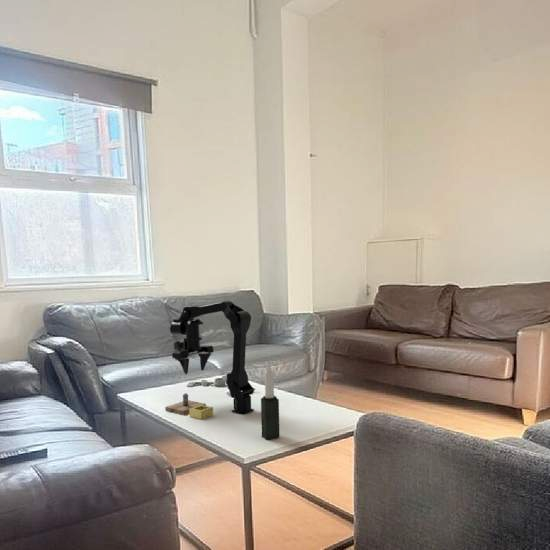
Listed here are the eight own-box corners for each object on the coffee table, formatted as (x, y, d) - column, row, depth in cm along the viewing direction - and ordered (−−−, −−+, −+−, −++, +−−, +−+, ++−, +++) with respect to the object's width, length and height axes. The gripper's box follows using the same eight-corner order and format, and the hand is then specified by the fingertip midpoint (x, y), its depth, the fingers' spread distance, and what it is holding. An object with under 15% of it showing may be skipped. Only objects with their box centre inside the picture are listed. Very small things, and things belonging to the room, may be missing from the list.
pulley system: (247, 384, 240) (232, 377, 253) (246, 375, 240) (232, 368, 253) (196, 395, 225) (183, 387, 238) (195, 385, 225) (183, 378, 238)
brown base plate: (206, 407, 198) (205, 392, 198) (184, 415, 188) (183, 398, 188) (187, 403, 205) (187, 388, 205) (165, 410, 195) (165, 394, 195)
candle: (260, 435, 163) (258, 362, 162) (274, 433, 165) (272, 360, 165) (266, 440, 158) (264, 364, 158) (280, 437, 160) (278, 362, 160)
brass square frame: (213, 414, 188) (212, 407, 188) (201, 419, 182) (200, 411, 182) (201, 412, 191) (201, 404, 191) (189, 416, 186) (189, 408, 186)
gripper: (196, 331, 216) (197, 366, 216) (162, 337, 201) (164, 374, 201) (213, 332, 209) (215, 368, 209) (180, 338, 195) (182, 377, 195)
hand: (194, 372), depth 204 cm, fingers open, 9 cm apart
